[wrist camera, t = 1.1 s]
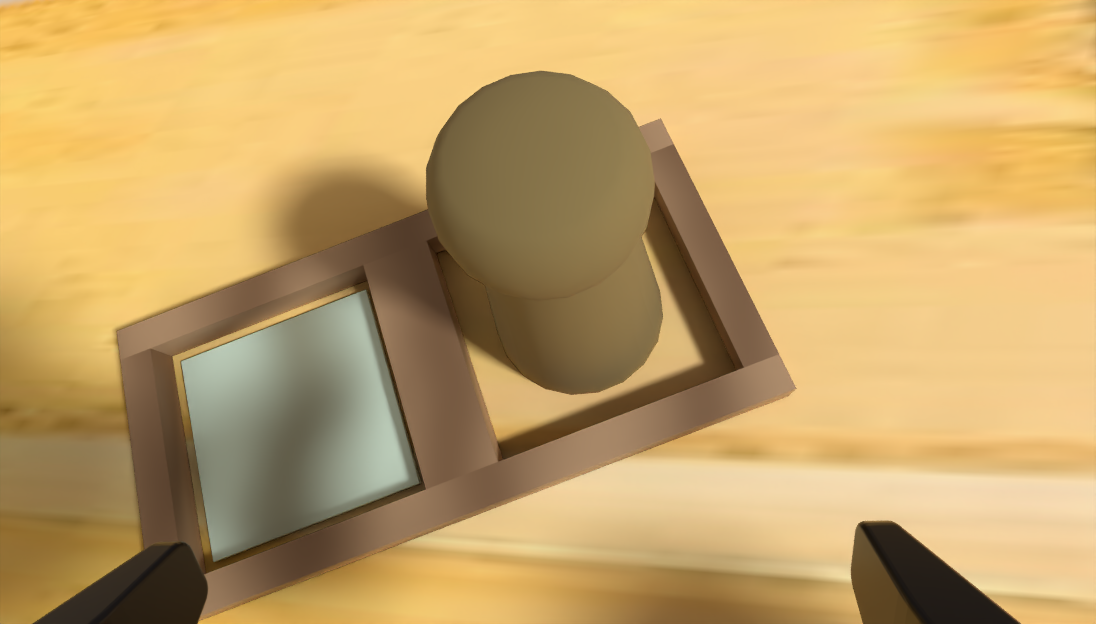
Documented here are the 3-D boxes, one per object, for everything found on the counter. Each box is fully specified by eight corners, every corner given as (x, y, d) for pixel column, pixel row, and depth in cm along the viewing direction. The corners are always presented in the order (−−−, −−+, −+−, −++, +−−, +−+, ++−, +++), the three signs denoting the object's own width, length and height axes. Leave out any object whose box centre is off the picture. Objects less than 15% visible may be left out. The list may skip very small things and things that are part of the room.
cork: (687, 266, 24) (719, 63, 14) (626, 421, 22) (610, 327, 12) (535, 215, 25) (460, -2, 15) (469, 358, 24) (335, 226, 14)
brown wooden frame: (179, 628, 22) (154, 633, 21) (139, 339, 26) (116, 331, 25) (788, 395, 22) (796, 388, 21) (660, 136, 26) (660, 118, 24)
